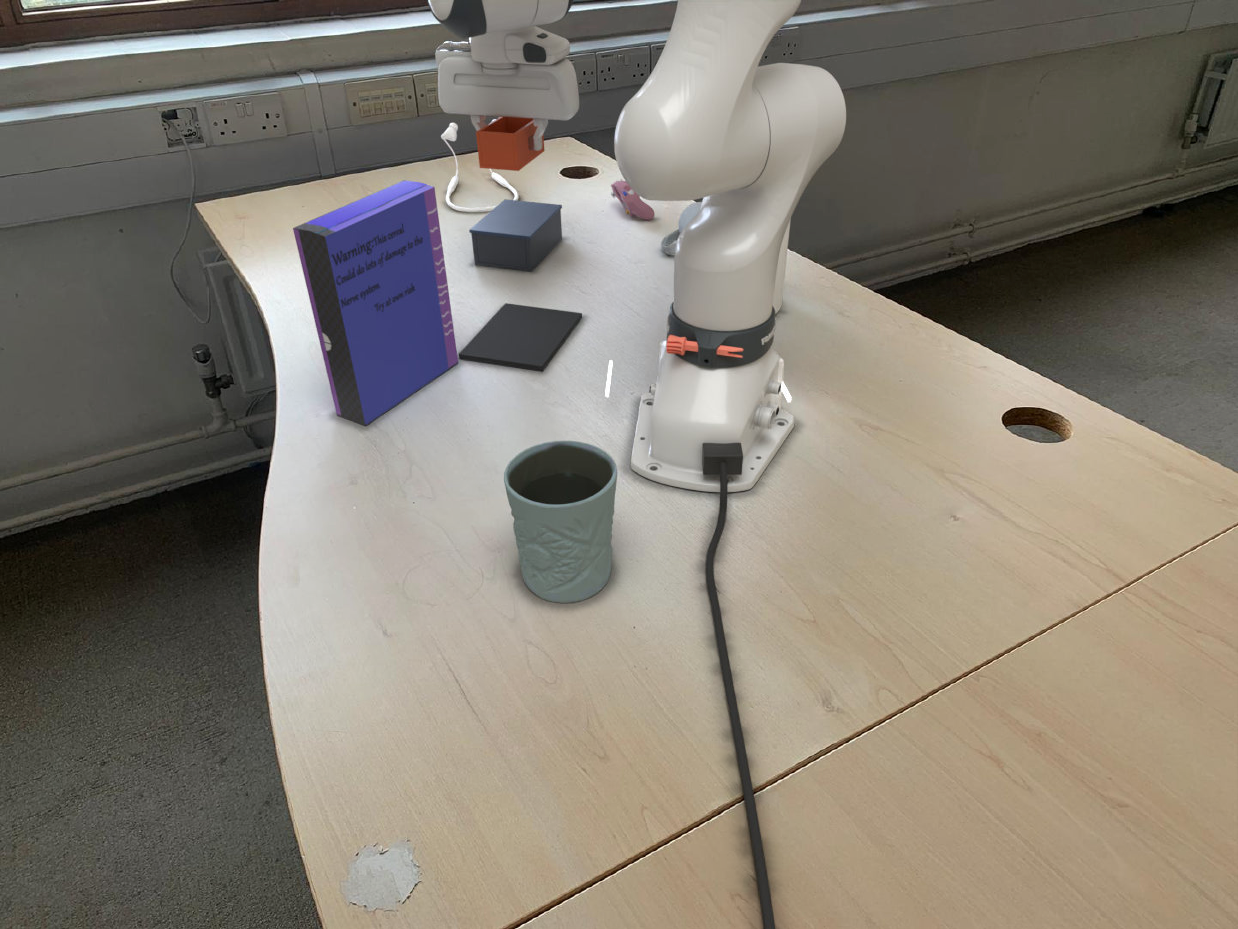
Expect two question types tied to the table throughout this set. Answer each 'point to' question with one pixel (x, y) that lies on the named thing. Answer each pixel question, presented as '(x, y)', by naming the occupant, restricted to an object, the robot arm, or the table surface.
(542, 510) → the green embossed cup
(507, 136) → the top tub
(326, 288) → the purple flat upright box
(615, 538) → the table surface
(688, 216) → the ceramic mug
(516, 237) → the storage box
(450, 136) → the earphone
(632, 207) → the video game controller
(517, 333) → the mat
